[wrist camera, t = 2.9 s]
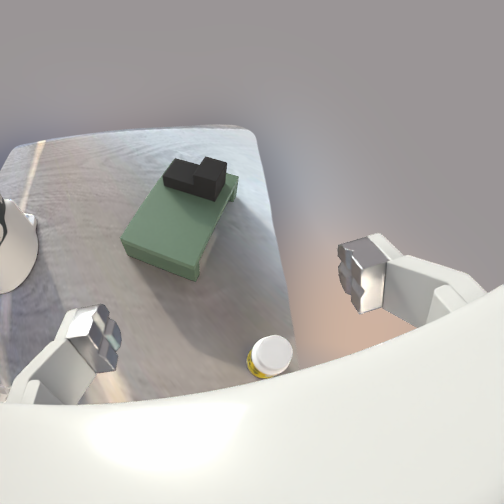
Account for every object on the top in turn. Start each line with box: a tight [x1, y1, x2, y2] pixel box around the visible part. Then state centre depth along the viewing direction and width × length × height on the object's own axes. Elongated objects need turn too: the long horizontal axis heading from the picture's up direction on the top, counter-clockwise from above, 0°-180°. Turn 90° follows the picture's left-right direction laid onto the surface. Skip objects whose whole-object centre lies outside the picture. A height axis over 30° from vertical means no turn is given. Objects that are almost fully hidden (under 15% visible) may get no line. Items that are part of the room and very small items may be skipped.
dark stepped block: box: [163, 157, 227, 202], centre depth 44 cm, size 9×4×5 cm, turn 72°
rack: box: [120, 160, 239, 282], centre depth 46 cm, size 12×18×5 cm, turn 162°
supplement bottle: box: [246, 335, 293, 379], centre depth 35 cm, size 5×5×8 cm
